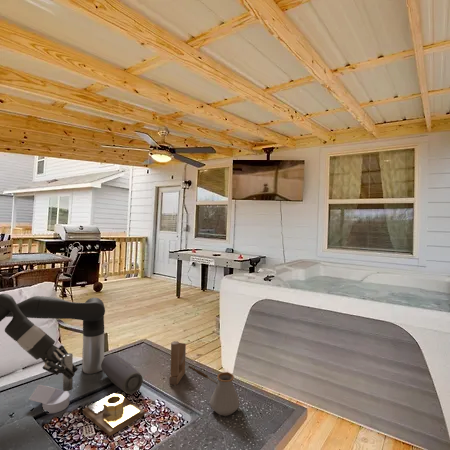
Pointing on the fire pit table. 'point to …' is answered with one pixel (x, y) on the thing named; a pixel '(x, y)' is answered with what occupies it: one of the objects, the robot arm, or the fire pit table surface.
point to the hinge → (114, 410)
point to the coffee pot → (222, 393)
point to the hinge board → (100, 417)
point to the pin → (69, 363)
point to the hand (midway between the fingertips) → (73, 374)
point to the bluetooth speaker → (122, 373)
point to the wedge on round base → (51, 398)
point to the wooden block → (177, 362)
